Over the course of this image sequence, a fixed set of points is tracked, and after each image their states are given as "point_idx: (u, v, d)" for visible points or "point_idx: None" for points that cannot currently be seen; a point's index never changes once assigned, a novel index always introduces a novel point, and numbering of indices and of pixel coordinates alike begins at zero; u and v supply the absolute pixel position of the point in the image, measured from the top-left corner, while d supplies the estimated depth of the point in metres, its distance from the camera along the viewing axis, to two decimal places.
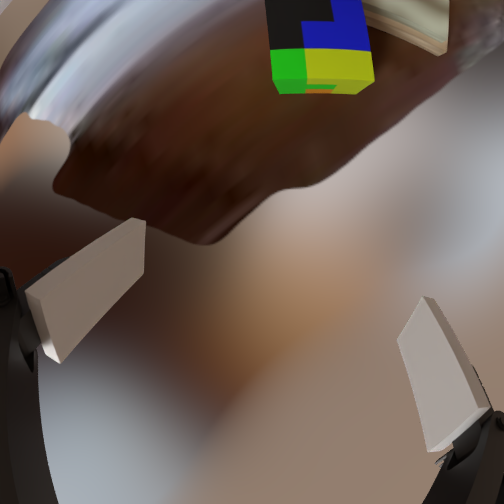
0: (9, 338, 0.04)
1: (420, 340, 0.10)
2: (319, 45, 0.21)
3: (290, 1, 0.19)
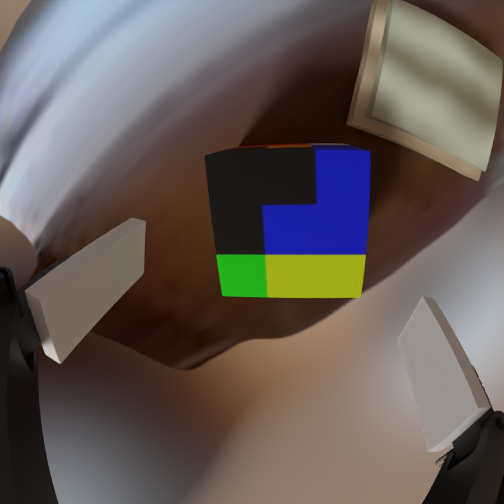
0: (9, 338, 0.04)
1: (420, 340, 0.10)
2: (287, 249, 0.18)
3: (246, 161, 0.16)
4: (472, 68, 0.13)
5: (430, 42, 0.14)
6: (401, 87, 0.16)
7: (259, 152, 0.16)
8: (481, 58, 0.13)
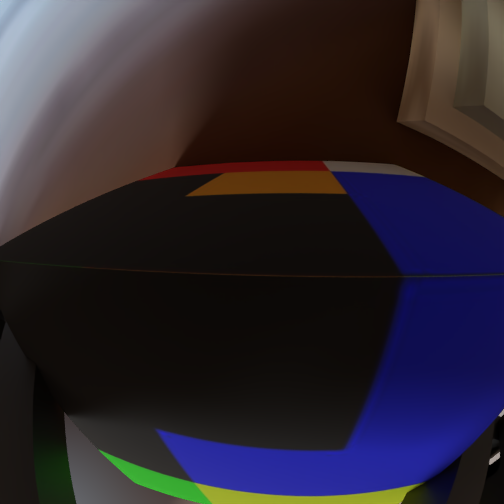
0: None
1: None
2: (246, 489, 0.05)
3: (59, 303, 0.03)
4: None
5: None
6: None
7: (86, 272, 0.03)
8: None
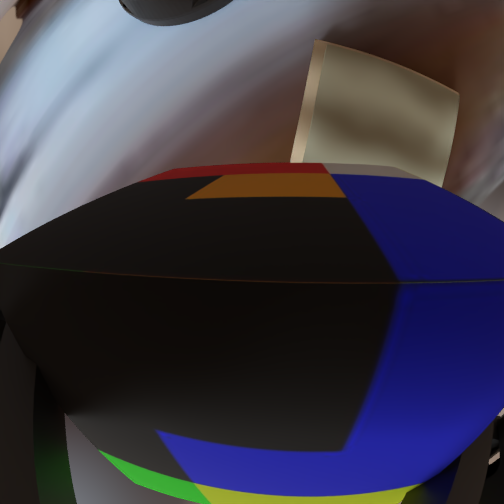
0: None
1: None
2: (245, 489, 0.05)
3: (60, 306, 0.03)
4: (418, 113, 0.17)
5: (367, 92, 0.17)
6: (330, 151, 0.20)
7: (88, 276, 0.03)
8: (431, 99, 0.16)
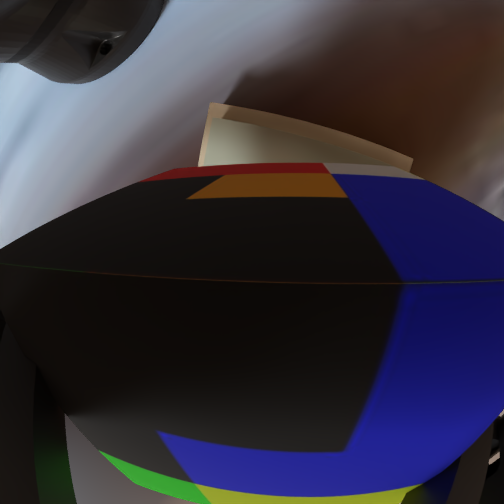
0: None
1: None
2: (246, 490, 0.05)
3: (61, 306, 0.03)
4: None
5: None
6: None
7: (89, 276, 0.03)
8: None
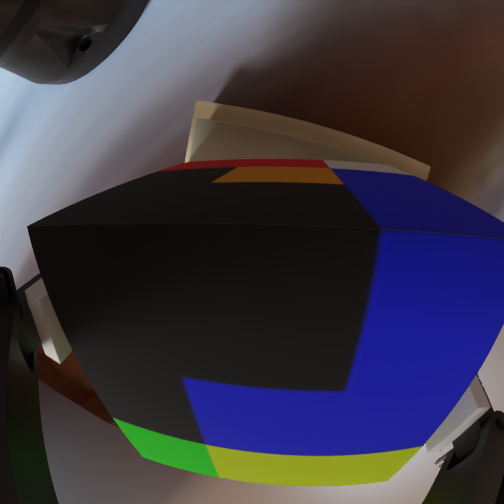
0: (9, 338, 0.04)
1: None
2: (255, 447, 0.06)
3: (115, 256, 0.04)
4: None
5: None
6: None
7: (151, 227, 0.04)
8: None
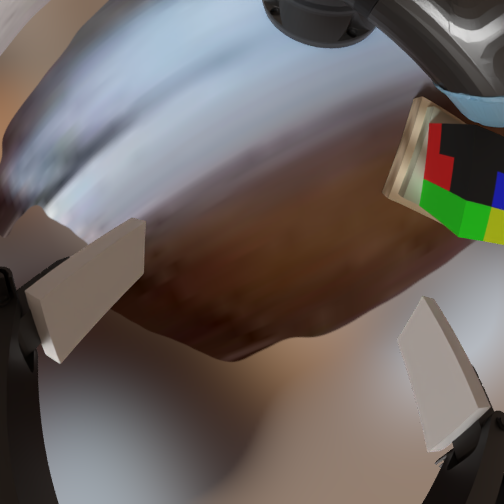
0: (9, 338, 0.04)
1: (420, 340, 0.10)
2: (501, 206, 0.17)
3: (495, 139, 0.15)
4: None
5: None
6: None
7: (501, 136, 0.15)
8: None
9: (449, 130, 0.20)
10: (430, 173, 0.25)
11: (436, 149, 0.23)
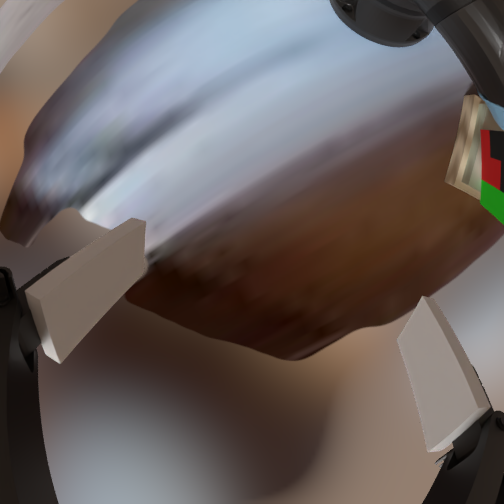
0: (9, 338, 0.04)
1: (420, 340, 0.10)
2: None
3: None
4: None
5: None
6: None
7: None
8: None
9: (495, 136, 0.19)
10: (485, 174, 0.24)
11: (488, 153, 0.22)
